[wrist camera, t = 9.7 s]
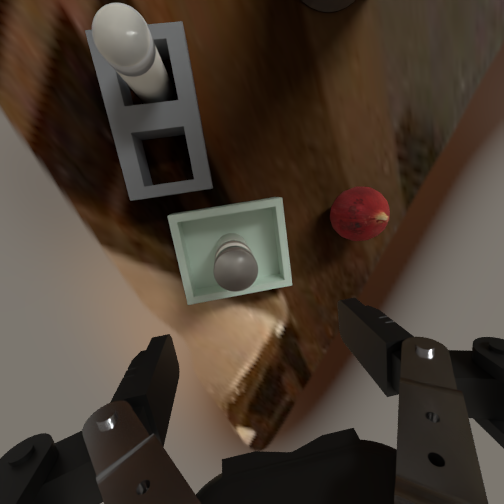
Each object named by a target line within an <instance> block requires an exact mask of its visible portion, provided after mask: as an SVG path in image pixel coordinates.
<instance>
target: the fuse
mask: <svg viewBox="0 0 504 504" xmlns="http://www.w3.org/2000/svg"><path fill="white" fill-rule="evenodd" d="M92 36H93V40H94V43H95V45H96V48H97V49H98V51H99V52H100V54H101V55H102V56H103V57H104V59H105V60H106V61H107V62H108V63H109V64H110V65H111V67H112V68H114V69H115V70H116V71H117V73H118V74H119V75H120V76H121V77H122V78H123V80H124V81H125V82H126V83H127V84H128V85H129V87H130V88H131V89H132V90H133V91H134V92H135V94H136V95H137V96H138V97H139V98H140V99H141V101H142V102H143V103H144V104H149V103H157V102H165V101H171V99H172V96H173V86H172V83H171V80H170V78H169V76H168V73H167V71H166V69H165V67H164V64H163V62H162V60H161V57H160V55H159V53H158V51H157V48H156V46H155V43H154V40H153V37H152V35H151V33H150V30H149V28H148V26H147V24H146V22H145V20H144V19H143V17H142V16H141V15H140V14H139V13H138V12H137V11H136V10H135V9H133V8H132V7H130V6H128V5H126V4H122V3H110V4H107V5H105V6H103V7H102V8H101V9H100V10H99V11H98V12H97V13H96V15H95V17H94V20H93V23H92Z"/></svg>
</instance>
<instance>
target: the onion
mask: <svg viewBox="0 0 504 504" xmlns="http://www.w3.org/2000/svg"><path fill="white" fill-rule="evenodd" d="M389 215H390V210H389V206H388V202H387V201H386V199H385V198H384V197H383V195H382V194H381V193H379V192H378V191H376V190H374V189H372V188H370V187H354V188H352V189H349V190H346V191H344V192H343V193H341V194H340V195H339V196H338V197H337V198H336V200H335V201H334V203H333V205H332V207H331V212H330V221H331V224H332V228H333V229H334V230H335V231H336V232H337V233H338V234H339V235H340V236H341V237H344V238H346V239H349V240H353V241H363V240H369V239H371V238H373V237H375V236H377V235H379V234H380V233H381V232H382V231H383V230H384V229H385V228H386V225H387V223H388V221H389Z"/></svg>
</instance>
